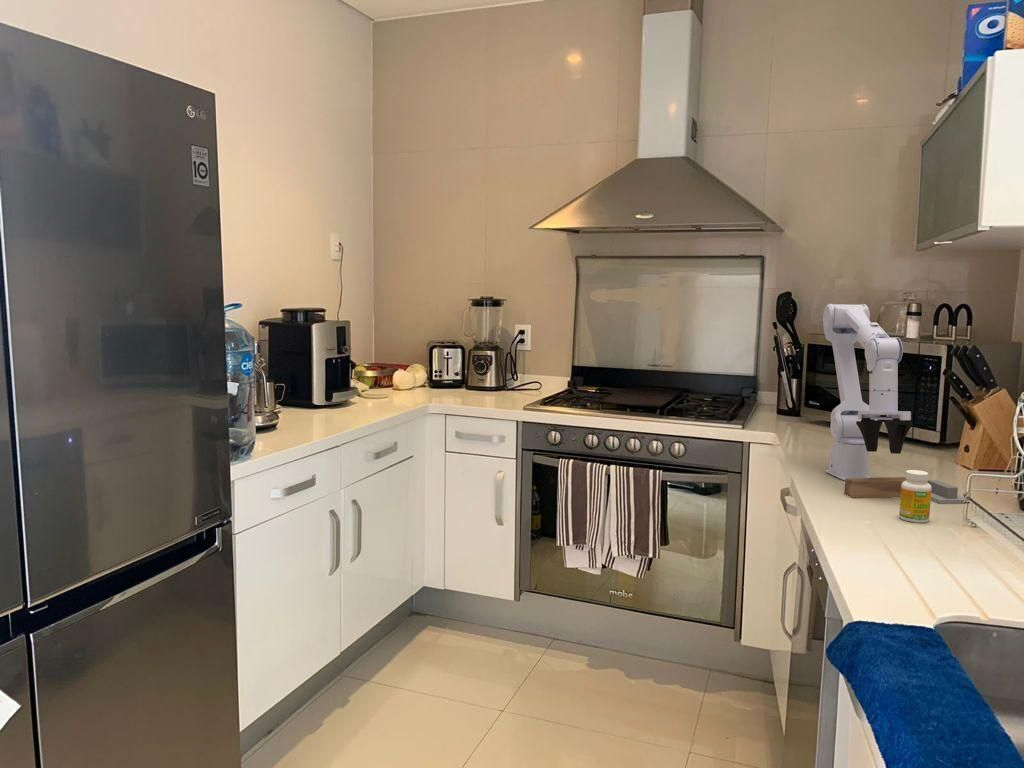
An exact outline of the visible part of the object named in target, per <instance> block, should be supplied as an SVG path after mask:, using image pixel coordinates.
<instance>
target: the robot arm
mask: <svg viewBox="0 0 1024 768" xmlns="http://www.w3.org/2000/svg"><path fill="white" fill-rule="evenodd" d="M822 314H823V315H822V325H823V333H824V336H825V340H827V341H828V342H830V343H831V345H832V351H833V357H834V358H833V359H834V363H835V364H834V365H835V371H836V372H835V373H836V379H837V387H838V394H839V399H840V403H839V404H838V405H837V406H835V408H833V409H832V411H831V413H830V434H831V436H832V438H834V441H833V442H832V443H831V446H830V449H829V464H828V465H829V466H828V467H829V468H828V469H825V473H827V474H829V475H832V476H834V477H836V478H838V479H840V480H842V481H845V478H874V477H873V476H871V475H869V474H868V473H869V469H868V468H869V458H870V452H871V453H872V452H873V453H875V452H877V451H878V445H879V444H878V443H879V436H880V430H881V427H882V425H883V420H884V425H885V428H886V430H887V435H888V442H889V443H888V445H889V453H890V454H893V455H894V454H895V455H897V454H899V455H900V454H902V450H903V446H904V442H905V439H906V437H907V435H908V434H909V431H910V429H911V428H912V426H913V422H912V421H911V420H912V411H907V410H906V411H905V410H904V411H902V410H901V411H900V410H898V409H899V407H898V405H899V404H898V403H899V401H898V400H899V399H898V398H899V389H898V386H899V380H898V375H899V374H898V373H899V372H898V371H899V369H898V368H899V367H898V366H899V364H900V362H901V361H902V359H903V358H902V357H903V351H904V347H903V342H902V340H901V339H900V337H898V336H897V337H896V336H895V337H890V336H889V335H888V333H887V331H885V330H884V329H883V328H882V327H881V326H880V324H879V323H878V322H871V320H870V317H871V312H870V308H869V306H868V305H867V304H865V303H861V304H847V303H846V304H842V303H840V304H835V303H828V304H827V305H826V306H825V307H824V309H823V313H822ZM857 342H858V343H859V344H860V345H861V347H862V348H863V349H864V358H865V361H866V369H867V372H869V373H868V375H869V376H868V378H869V383H868V384H869V386H868V389H869V390H868V391H869V395H868V396H869V399H868V400H869V402H868V403H869V404H867V403H866V402H864V401H863V397H862V391H861V386H860V379H859V372H858V365H857V360H856V354H855V353H856V352H855V347H854V344H855V343H857ZM881 416H882V417H881ZM883 416H886V417H883ZM908 421H909V422H908ZM910 421H911V422H910Z"/></svg>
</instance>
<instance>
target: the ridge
mask: <svg viewBox="0 0 1024 768" xmlns="http://www.w3.org/2000/svg"><path fill="white" fill-rule="evenodd" d="M927 483H928V484H930V485H931V501H932V502H934V503H937V504H938V505H940V504H942V505H946V504H952V505H953V504H965V503H964V498H963V497H964V496H963V495H960V494H958V490H959V487H957V486H954V485H952V484H948V483H947V482H944V481H941V480H939V479H928V481H927Z"/></svg>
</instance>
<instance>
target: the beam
mask: <svg viewBox="0 0 1024 768" xmlns="http://www.w3.org/2000/svg"><path fill="white" fill-rule="evenodd" d="M906 480H907V478H906V476H894V477H893V476H890V477H889V476H888V477H887V476H886V477H883V476H881V477H880V476H879V477H873V478H845V480H844V495H845V494H846V495H845V496H847V495H848V496H847V497H849V496H850V497H849V498H851V499H882V498H884V499H885V498H886V497H898V498H900V497H901V485H902V483H903V482H904V481H906ZM886 499H887V498H886Z"/></svg>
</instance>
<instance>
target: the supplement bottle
mask: <svg viewBox="0 0 1024 768" xmlns="http://www.w3.org/2000/svg"><path fill="white" fill-rule="evenodd" d="M905 478H907V480H906V481H904V482H903V483H902V485H901V497H899V498H900V499H899V502H900V503H899V511H898V512H899V514H898V516H899V519H902V521H906V522H911V523H917V524H922V523H923V524H924V523H927V522H929V521H930V514H931V503H932V502H931V501H932V500H931V485H930V484H928V483H927V481H928V480H929V472H927V471H924V470H917V469H908V470H906V471H905Z"/></svg>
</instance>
